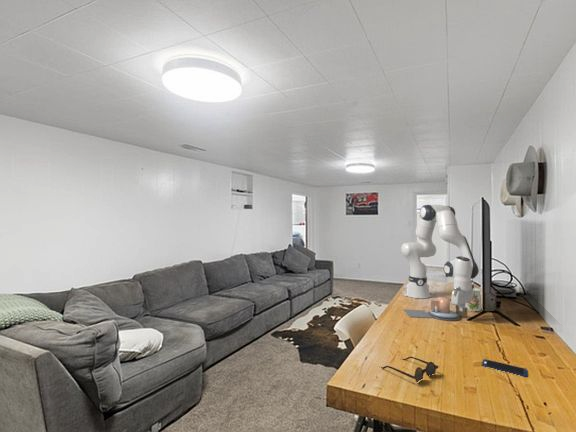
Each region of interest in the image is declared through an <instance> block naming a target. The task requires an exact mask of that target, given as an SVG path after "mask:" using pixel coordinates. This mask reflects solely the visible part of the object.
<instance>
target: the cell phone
mask: <svg viewBox="0 0 576 432" xmlns="http://www.w3.org/2000/svg"><path fill="white" fill-rule="evenodd" d="M483 366H485V367H484V368H486V367H490V368H494V369H497V370H496V371H498V370H501V371H500V372H502V371H505V372H504V373H506V372H509V373H508V374H510V373H513V374H512V375H514V374H516V375H515V376H518V375H520V376H519V377H522V376H523V378H528V369H526V368H524V367H520V366H516V365H511V364H507V363H503V362H499V361H494V360H490V359H487V358H484V359H483V360H482V363H481V367H483ZM490 368H489V369H490ZM494 369H493V370H494Z"/></svg>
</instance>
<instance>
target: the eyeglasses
mask: <svg viewBox="0 0 576 432" xmlns="http://www.w3.org/2000/svg"><path fill="white" fill-rule="evenodd" d="M401 359H402V360H403V361H407V360H410V359H413V360H416V361H419V362H421V363H423V364H426V366H425V368H422V367H420V366H417V367H416V368H415V371H414V375H413V374H410V373H407V372H405V371H403V370H400V369H399V368H395V367H393V366H390V365H384V366H380V367H381V368H382V369H381V368H380V369H381V370H384V369H387V368H389V369H390V370H394V371H396V372H398V373H400V374H402V375H405V376H406V377H409V378H411V379H413V380H414V381H415V382H416V383H417V382H418V381H419V380H421V379H423V380H424V374H426V376H427V377H428V376H429V375H432V374H434V375H436V371H437V369H439V366H438V365H436V364H435V363H434V361H433V362H432V361H429V362H428V361H425V360H423V359H420V358H417V357H415V356H407V357H406V358H401Z"/></svg>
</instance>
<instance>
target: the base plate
mask: <svg viewBox="0 0 576 432" xmlns="http://www.w3.org/2000/svg"><path fill="white" fill-rule="evenodd" d="M427 313H428V315H429V316H431V317H432V318H431V319H435V320H439V321H447V322H457V321H461V318H462V316H458V317H457V318H453V319H449V318H441V317H437V316H434V315H432V314H431V313H430V311H427Z"/></svg>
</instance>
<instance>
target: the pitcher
mask: <svg viewBox="0 0 576 432" xmlns="http://www.w3.org/2000/svg"><path fill="white" fill-rule="evenodd" d="M480 289H481V288H478V287H474V289H473V299H472V301H469V302H466V305H465V307H466V308H467V311H468V310H469V311H468V312H471V311H479V312H480V311H481V310H482V309H481V295H480Z"/></svg>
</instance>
